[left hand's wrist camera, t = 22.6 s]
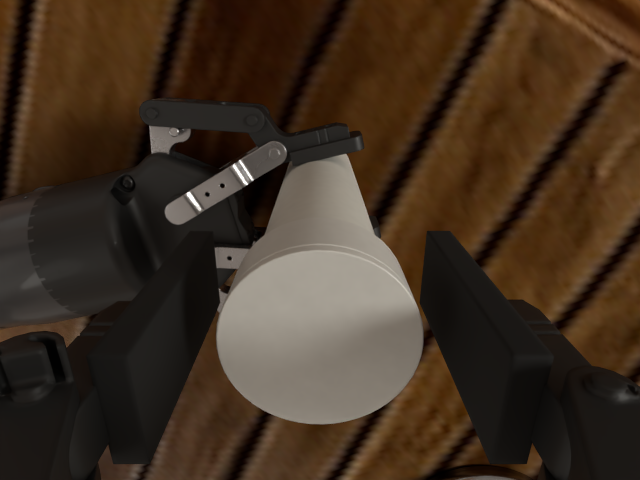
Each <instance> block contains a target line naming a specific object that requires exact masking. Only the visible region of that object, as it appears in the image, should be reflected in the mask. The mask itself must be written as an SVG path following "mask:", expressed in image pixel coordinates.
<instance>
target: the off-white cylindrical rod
mask: <svg viewBox="0 0 640 480" xmlns="http://www.w3.org/2000/svg"><path fill="white" fill-rule="evenodd" d="M317 217H318V218H333V219H339V220H344V221H347V222H350V223H354V224H356V225H358V226H360V227H363V228H365V229H366V230H368V231H369V232H371V233H373V234H374V231H373V228H372V225H371V222H370V219H369V216H368V213H367V210H366V207H365V205H364V202H363V199H362V196H361V193H360V190H359V187H358V184H357V181H356V178H355V176H354V173H353V170H352V167H351V164H350V161H349V158H348V156H347V155H346V154H343V155H339V156H334V157H330V158H326V159H322V160H317V161H312V162H308V163H305V164H300V165H296V166H293V165H292V161H291V162H290V163H289V166H288V168H287V171H286V174H285V177H284V180H283V183H282V186H281V189H280V192H279V195H278V197H277V200H276V203H275V206H274V209H273V212H272V215H271V218H270V221H269V223H268V226H267V229H266V232H265V235H266V234H267V233H269V232H270V231H271V230H273V229H275V228H277V227H279V226H281V225H284V224H287V223H289V222H292V221H296V220H301V219H305V218H317ZM374 235H375V234H374Z"/></svg>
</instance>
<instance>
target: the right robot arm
mask: <svg viewBox="0 0 640 480" xmlns="http://www.w3.org/2000/svg"><path fill="white" fill-rule="evenodd" d="M139 113H140V117H141V119H142V120H143V121H144V122H145V123H146V124H147V125H149V129H150V141H151V153H152V154H150V155H148V156H147V157H145V158H144V159H143V160H142V162H141V163H140V164H139V165H137V166H135V167H131V168H127V169H123V170H119V171H115V172H111V173H107V174H103V175H99V176H94V177H90V178H86V179H82V180H78V181H74V182H70V183H65V184H61V185H57V186H46V187H40V188H37V189H35V190H33V191H32V192H29V193H25V194H21V195H17V196H13V197H10V198H7V199H4V200H1V201H0V330H1V329H6V328H10V327H15V326H22V325H38V324H48V323H54V322H60V321H64V320H69V319H73V318H78V317H83V316H87V315H92V314H97V313H100V312H101V311H102V310H104V309H106V308H107V307H109V306H111V305H112V304H114V303H116V302H117V301H132V300H133V299H134V298H135V297H136V295H137V294H138V293H139V292H140V291H141V289H142V288H143V287H144V286H145V285H146V283H147V282H148V281H149V280H150V279H151V277H152V276H153V275H154V274H155V273H156V271H157V270H158V269H159V268H160V267H161V265H162V264H163V263H164V262H165V261H166V259H167V258H168V257H169V256H170V255H171V253H172V252H173V251H174V250H175V249H176V247H177V246H178V245H179V244H180V243H181V241H182V240H183V239H184V238H185V237H186V235H187V234H188V233H189V232H190V231H213V236H214V246H215V256H216V266H217V275H218V285H219V295H220V305H219V307H218V309H217V310H218V311H219V313H220V311H221V309H222V307H223V304H224V302H225V299H226V297H227V295H228V292H229V290H230V286H227V285H225V284H224V282H225V281H226V280H227V279H228V278H229V277H230V276H231V274H232V273H233V272H234V271H235V270H236V269H239V266H240V264H241V262H242V260H243V258H244V257H245V255H246V253H247V252H248V251H249V250H250V248H251V247H252V246H253V245H254V244H255V243H256V242H257V241H258V240H259V239H260V238H261V237H263V236H264V235H265V232H266V229H267V227H254V224H253V221H252V219H251V217H250V216H249V214H248V213H247V211H246V209H245V206H244V192H243V189H242V188H243V187H245V186H247V185H248V184H249V183H250V182H252V181H253V180H255V179H256V178H258V177H260V176H261V175H263V174H265V173H266V172H268V171H270V170H272V169H273V168H275V167H277V166H278V165H280V164H283V163H287V162H291V161H292V165H293V166H296V165H300V164H305V163H308V162H312V161H317V160H322V159H326V158H330V157H334V156H339V155H343V154H347V153H351V152H355V151H359V150H362V149H364V143H363V138H362V134H361V132H360V131H352V132H349V129H348V126H347V124H343V123H337V122H336V123H332V124H328V125H324V126H320V127H315V128H311V129H307V130H303V131H299V132H295V133H286V132H283V131H281V130H280V129H279V128H278V127H277V125H276V124H275V122H274V121H273V119H272V118H271V116H270V112H269V110H268V108H267V107H266V106H264V105H262V104H254V103H240V102H225V101H211V100H196V99H182V98H159V99H153V100H147V101H145V102H143V103H142V105H141V106H140V110H139ZM196 129H200V130H215V131H229V132H244V133H248V134H249V135H250V137H251V138H252V140H253V141H254V142H255V144H256V145H257V146H256V147H254V148H253V149H251V150H249V151H247V152H245V153H243V154H242V155H240V156H238V157H237V158H235V159H233V160H232V161H230V162H228V163H227V164H225V165H223V166H222V167H220V168H216V167H214V166H211V165H209V164H206V163H204V162H201V161H199V160H196V159H194V158H191V157H189V156H186V155H184V154H181V153H179V152H176V151H175V147H176V145H177V143H178V142H184V141H186V140H188V139H190V138H192V137H193V136H194V134H195V131H196ZM369 219H370V222H371V225H372V228H373V231H374V234H375V236H377V237H378V238H379V239H380V238H381V233H380V228H379V224H378V221H377V219H376V217H375V216H369ZM254 237H255V238H254Z"/></svg>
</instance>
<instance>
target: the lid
mask: <svg viewBox="0 0 640 480" xmlns="http://www.w3.org/2000/svg"><path fill="white" fill-rule="evenodd" d="M216 345H217V351H218V355H219V359H220V362H221V364H222V367H223V370H224V371H225V373H226V375H227V377H228V378H229V380H230V381H231V383H232V384H233V385H234V387H235V388H236V389H237V390H238V391H239V392H240V393H241V394H242V395H243V396H244V397H245V398H246V399H248V400H249V401H250V402H251V403H253V404H254V405H256V406H257V407H259V408H261V409H262V410H264V411H266V412H268V413H270V414H272V415H275V416H277V417H280V418H283V419H286V420H290V421H295V422H300V423H307V424H332V423H340V422H345V421H349V420H353V419H357V418H360V417H362V416H365V415H367V414H370V413H372V412H374V411H375V410H377V409H379V408H381V407H382V406H384V405H385V404H387V403H388V402H390V401H391V400H392V399H393V398H394V397H396V396H397V395H398V394H399V393H400V392H401V391H402V390H403V388H404V387H405V386H406V385H407V384H408V382H409V381H410V379H411V378H412V376H413V374H414V372H415V370H416V368H417V366H418V364H419V361H420V357H421V354H422V349H423V325H422V319H421V316H420V313H419V310H418V307H417V305H416V302H415V300H414V297H413V295H412V293H411V290H410V288H409V286H408V283H407V281H406V278H405V276H404V274H403V271H402V269H401V267H400V265H399V263H398V261H397V259H396V257H395V256H394V254H393V253H392V251H391V250H390V249H389V248H388V247H387V245H386V244H385V243H384V242H383V241H382V240H380V239H379V238H378V237H377V236H375V235H374V234H373V233H371V232H369V231H368V230H366V229H365V228H363V227H360V226H358V225H356V224H354V223H350V222H347V221H344V220H339V219H333V218H318V217H317V218H305V219H301V220H296V221H292V222H289V223H287V224H284V225H281V226H279V227H277V228H275V229H273V230H271V231H270V232H269V233H267V234H266V235H264V236H263V237H261V238H260V239H259V240H258V241H257V242H256V243H255V244H254V245H253V246H252V247H251V248H250V250H249V251H248V252H247V253H246V255H245V257H244V258H243V260H242V262H241V264H240V266H239V269H238V271H237V273H236V276H235V278H234V280H233V283H232V285H231V287H230V290H229V292H228V295H227V297H226V299H225V302H224V304H223V307H222V309H221V311H220V314H219V318H218V322H217V329H216Z"/></svg>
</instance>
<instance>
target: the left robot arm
mask: <svg viewBox="0 0 640 480" xmlns="http://www.w3.org/2000/svg"><path fill="white" fill-rule="evenodd" d="M219 305H220V295H219V285H218V275H217V266H216V256H215V246H214V236H213V231H190V232H189V233H188V234H187V235H186V237H185V238H184V239H183V240H182V241H181V243H180V244H179V245H178V246H177V247H176V249H175V250H174V251H173V252H172V253H171V255H170V256H169V257H168V258H167V259H166V261H165V262H164V263H163V264H162V265H161V267H160V268H159V269H158V270H157V271H156V273H155V274H154V275H153V276H152V277H151V279H150V280H149V281H148V282H147V283H146V285H145V286H144V287H143V288H142V289H141V291H140V292H139V293H138V294H137V295H136V297H135V298H134V299H133V300H132V301H117V302H116V303H114V304H112V305H111V306H109V307H107V308H106V309H104V310H102V311H101V312H100V313H99V314H98V315H97V316H96V317H95V318H94V319H93V320H92V321H91V322H90V325H89V326H87V327H86V328H85V329H84V330H83V331H82V332H81V333H80V336H77V337H76V339H75V340H74V341H73V342H72V343H71V344H70V345H69V346H68V347H67V348H66V345H65V341H64V338H63V337H62V336H61V335H59V334H58V333H55V332H49V331H40V332H30V333H26V334H22V335H19V336H15V337H12V338H10V339H8V340H5V341H3V342H0V480H101V474H100V469H99V465H98V461H99V459H100V457H101V455H102V454H103V452H104V450H105V449H106V447H107V445H109V449H110V453H111V457H112V460H113V464H150V462H151V460H152V458H153V455H154V453H155V451H156V449H157V446H158V444H159V442H160V439H161V437H162V435H163V433H164V430H165V428H166V426H167V423H168V421H169V419H170V417H171V414H172V412H173V410H174V407H175V405H176V403H177V401H178V398H179V396H180V394H181V391H182V389H183V387H184V385H185V382H186V380H187V378H188V375H189V373H190V371H191V369H192V366H193V364H194V362H195V359H196V357H197V355H198V353H199V350H200V348H201V346H202V343H203V341H204V339H205V337H206V334H207V332H208V330H209V327H210V325H211V323H212V321H213V318H214V316H215V314H216V311H217V309H218V307H219ZM420 305H421V307H422V309H423V311H424V314H425V316H426V318H427V321H428V323H429V325H430V327H431V330H432V332H433V334H434V337H435V339H436V341H437V343H438V346H439V348H440V350H441V353H442V355H443V357H444V359H445V362H446V364H447V366H448V369H449V371H450V373H451V375H452V378H453V380H454V382H455V385H456V387H457V389H458V391H459V394H460V396H461V398H462V401H463V403H464V405H465V407H466V410H467V412H468V414H469V417H470V419H471V421H472V423H473V426H474V428H475V430H476V433H477V435H478V437H479V439H480V442H481V444H482V446H483V449H484V451H485V453H486V455H487V458H488V460H489V462H490V464H527V460H528V457H529V453H530V449H531V445H532V443H533V445H534V446H535V448H536V450H537V452H538V453H539V455H540V457H541V458H542V460H543V462H542V465H541V469H540V472H539V476H538V480H640V387H639V386H638V385H637V384H635V383H634V382H633V381H631V380H630V379H628V378H626V377H624V376H622V375H620V374H618V373H616V372H614V371H611V370H607V369H604V368H601V367H595V366H591V364H590V363H589V362H588V361H587V360H586V359H585V358H584V357H583V356H582V355H581V354H580V353H579V352H578V351H577V349H576V348H575V347H574V346H573V345H572V344H571V343H570V342H569V341H568V340H567V339H566V338H565V337H564V336H563V335H560V331H559V330H558V329H557V328H556V327H555V326H554V325H553V324H551V322H550V321H549V319H548V318H547V317H546V316H545V315H544V314H543V313H542V312H541V311H540V310H539V309H537V308H535V307H534V306H532V305H530V304H529V303H527V302H525V301H524V300H507V299H506V298H505V297H504V295H503V294H502V293H501V292H500V291H499V289H498V288H497V287H496V286H495V285H494V283H493V282H492V281H491V280H490V279H489V277H488V276H487V275H486V274H485V273H484V271H483V270H482V269H481V268H480V267H479V265H478V264H477V263H476V262H475V261H474V259H473V258H472V257H471V256H470V255H469V253H468V252H467V251H466V250H465V249H464V247H463V246H462V245H461V244H460V243H459V241H458V240H457V239H456V238H455V237H454V235H453V234H452V233H451V232H450V231H427V236H426V246H425V256H424V266H423V275H422V285H421V295H420ZM429 480H533V479H531V478H530V477H528V476H526V475H524V474H522V473H520V472H517V471H514V470H511V469H507V468H502V467H494V466H473V467H465V468H459V469H455V470H451V471H448V472H445V473H442V474H440V475H437V476H435V477H433V478H431V479H429Z"/></svg>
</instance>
